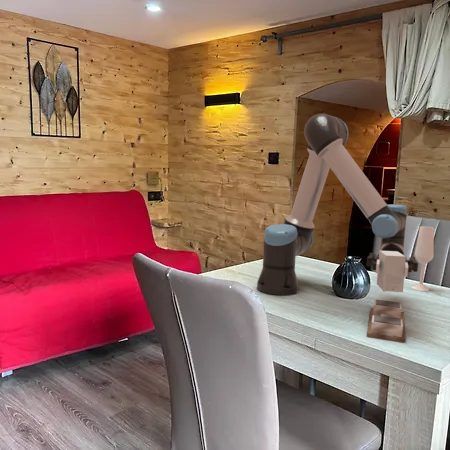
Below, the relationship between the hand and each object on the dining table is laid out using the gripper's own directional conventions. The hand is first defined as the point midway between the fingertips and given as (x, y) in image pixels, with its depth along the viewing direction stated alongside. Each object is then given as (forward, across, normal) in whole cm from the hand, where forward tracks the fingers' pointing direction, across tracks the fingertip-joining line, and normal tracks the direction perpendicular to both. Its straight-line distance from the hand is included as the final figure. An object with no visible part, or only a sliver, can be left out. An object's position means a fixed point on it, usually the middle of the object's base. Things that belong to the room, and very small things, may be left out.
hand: (391, 270), depth 126 cm
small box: (-5, 0, -7) cm, 8 cm away
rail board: (-5, 0, -18) cm, 18 cm away
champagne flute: (-53, -12, -18) cm, 57 cm away
